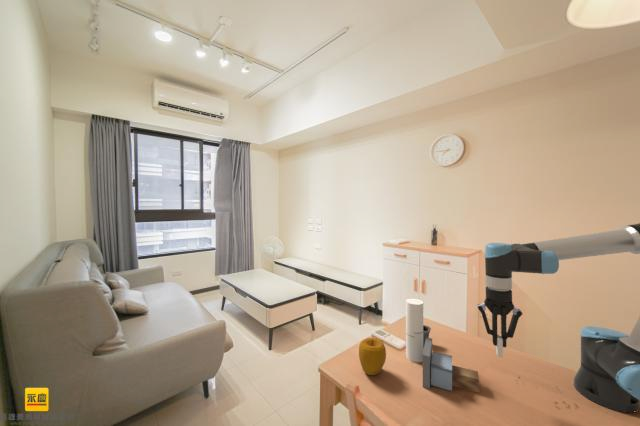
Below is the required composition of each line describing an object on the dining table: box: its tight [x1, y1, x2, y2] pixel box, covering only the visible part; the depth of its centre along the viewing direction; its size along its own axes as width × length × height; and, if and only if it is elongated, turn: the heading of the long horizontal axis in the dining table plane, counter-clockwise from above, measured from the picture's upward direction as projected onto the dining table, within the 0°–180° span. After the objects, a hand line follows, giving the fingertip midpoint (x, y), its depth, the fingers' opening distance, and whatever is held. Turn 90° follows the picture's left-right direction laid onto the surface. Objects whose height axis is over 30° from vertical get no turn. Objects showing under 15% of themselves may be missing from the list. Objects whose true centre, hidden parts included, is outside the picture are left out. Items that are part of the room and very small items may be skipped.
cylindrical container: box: [405, 298, 424, 363], centre depth 111 cm, size 7×7×25 cm
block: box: [430, 351, 453, 392], centre depth 96 cm, size 7×10×8 cm
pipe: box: [423, 324, 432, 347], centre depth 121 cm, size 6×13×8 cm, turn 107°
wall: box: [422, 337, 433, 390], centre depth 98 cm, size 2×14×12 cm, turn 152°
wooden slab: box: [452, 364, 480, 393], centre depth 95 cm, size 14×5×5 cm, turn 63°
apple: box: [358, 337, 387, 376], centre depth 102 cm, size 11×11×13 cm
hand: (499, 354), depth 88 cm, fingers closed
